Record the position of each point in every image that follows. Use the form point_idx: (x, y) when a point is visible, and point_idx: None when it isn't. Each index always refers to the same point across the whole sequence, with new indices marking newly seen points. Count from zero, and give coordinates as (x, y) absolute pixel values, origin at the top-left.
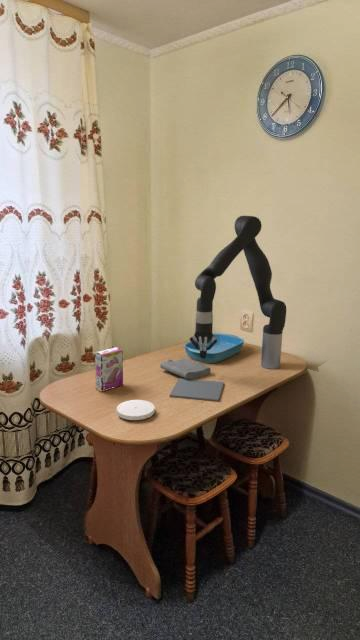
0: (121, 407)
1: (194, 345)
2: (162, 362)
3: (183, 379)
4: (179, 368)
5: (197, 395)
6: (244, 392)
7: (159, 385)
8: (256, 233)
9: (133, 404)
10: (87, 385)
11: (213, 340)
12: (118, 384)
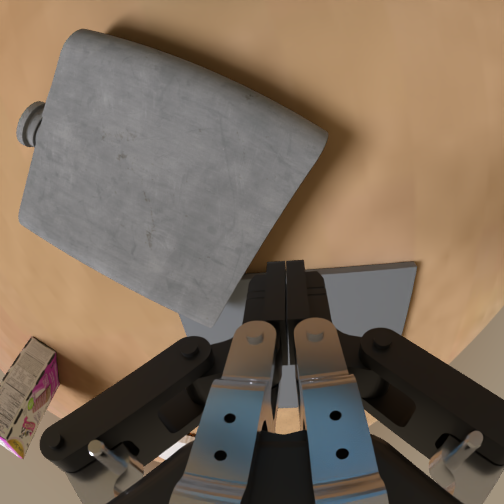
0: (162, 454)
1: (167, 418)
2: (21, 221)
3: None
4: (138, 285)
5: None
6: (476, 314)
7: (135, 342)
8: None
9: (173, 450)
10: (15, 355)
11: (455, 471)
12: (54, 365)
